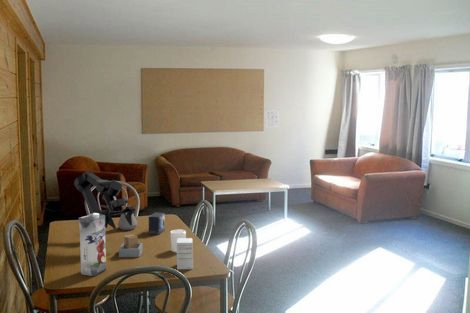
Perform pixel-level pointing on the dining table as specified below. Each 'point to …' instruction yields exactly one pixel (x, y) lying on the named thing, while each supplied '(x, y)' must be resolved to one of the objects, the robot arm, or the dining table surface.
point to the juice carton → (92, 244)
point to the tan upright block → (130, 241)
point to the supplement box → (184, 253)
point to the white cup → (174, 236)
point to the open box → (130, 251)
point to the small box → (156, 223)
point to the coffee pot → (125, 221)
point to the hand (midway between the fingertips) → (123, 226)
